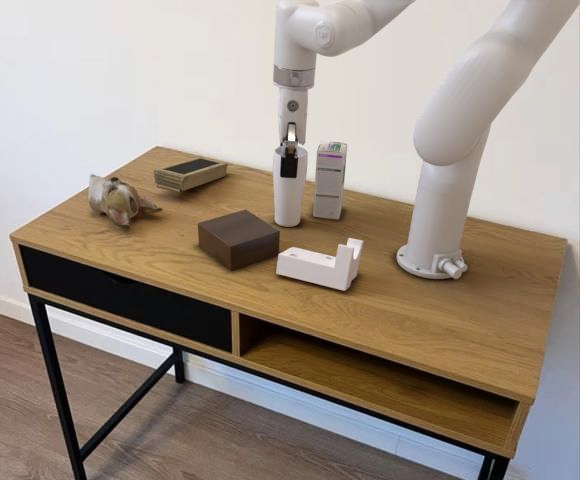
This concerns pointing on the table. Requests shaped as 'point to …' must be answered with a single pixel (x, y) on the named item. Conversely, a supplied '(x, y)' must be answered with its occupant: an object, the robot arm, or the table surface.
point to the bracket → (322, 265)
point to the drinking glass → (289, 189)
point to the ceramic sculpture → (117, 200)
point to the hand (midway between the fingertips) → (287, 167)
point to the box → (189, 173)
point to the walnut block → (238, 239)
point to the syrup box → (329, 179)
